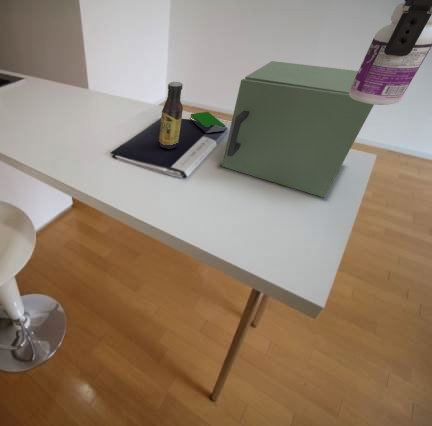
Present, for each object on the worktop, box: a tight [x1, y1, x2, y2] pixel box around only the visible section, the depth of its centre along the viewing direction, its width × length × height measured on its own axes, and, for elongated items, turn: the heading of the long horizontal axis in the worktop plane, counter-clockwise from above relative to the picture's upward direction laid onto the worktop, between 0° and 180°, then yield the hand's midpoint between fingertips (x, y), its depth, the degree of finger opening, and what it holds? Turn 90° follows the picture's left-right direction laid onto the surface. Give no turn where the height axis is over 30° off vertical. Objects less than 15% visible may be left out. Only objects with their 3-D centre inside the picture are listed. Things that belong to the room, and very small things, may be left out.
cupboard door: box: [221, 78, 375, 198], centre depth 68 cm, size 7×26×24 cm, turn 51°
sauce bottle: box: [158, 81, 184, 145], centre depth 88 cm, size 6×6×20 cm
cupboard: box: [244, 60, 375, 176], centre depth 75 cm, size 18×26×24 cm
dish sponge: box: [189, 111, 226, 128], centre depth 105 cm, size 7×14×2 cm, turn 12°
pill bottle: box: [349, 2, 432, 106], centre depth 33 cm, size 5×5×10 cm
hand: (398, 48), depth 32 cm, fingers closed on pill bottle, 5 cm apart
